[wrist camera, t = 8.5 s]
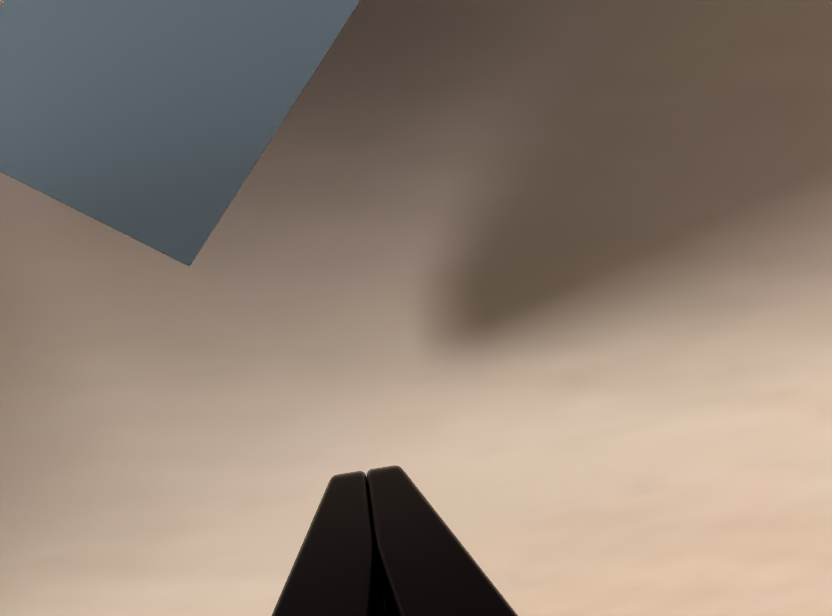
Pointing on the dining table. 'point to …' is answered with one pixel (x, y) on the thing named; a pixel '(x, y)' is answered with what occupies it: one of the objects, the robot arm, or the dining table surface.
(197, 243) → the gate
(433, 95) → the dining table surface
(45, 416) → the dining table surface
